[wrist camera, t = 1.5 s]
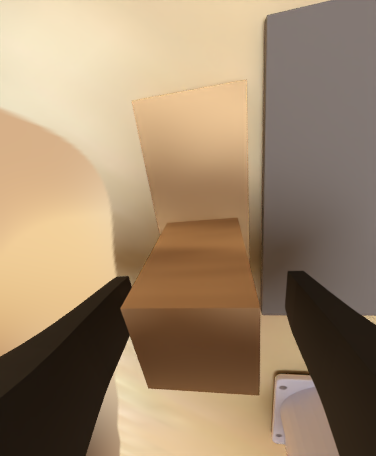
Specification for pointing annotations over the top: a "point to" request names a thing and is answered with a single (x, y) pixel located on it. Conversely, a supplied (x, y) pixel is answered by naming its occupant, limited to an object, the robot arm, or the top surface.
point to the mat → (320, 152)
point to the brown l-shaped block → (197, 246)
